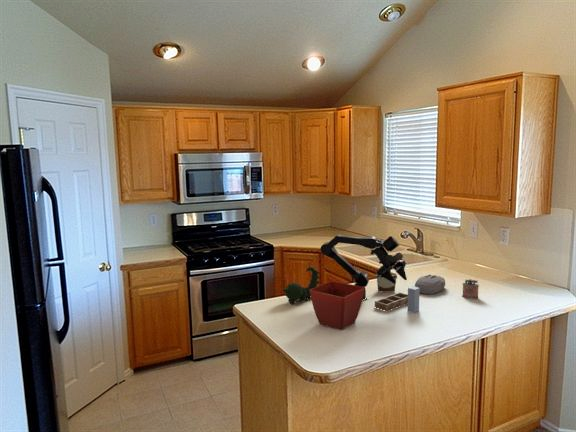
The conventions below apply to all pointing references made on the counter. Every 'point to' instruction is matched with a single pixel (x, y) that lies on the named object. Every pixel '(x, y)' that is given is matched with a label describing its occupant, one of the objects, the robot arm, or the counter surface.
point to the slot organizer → (392, 301)
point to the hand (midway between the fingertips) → (400, 281)
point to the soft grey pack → (430, 284)
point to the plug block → (413, 299)
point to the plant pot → (337, 303)
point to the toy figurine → (301, 288)
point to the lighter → (470, 289)
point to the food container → (385, 283)
